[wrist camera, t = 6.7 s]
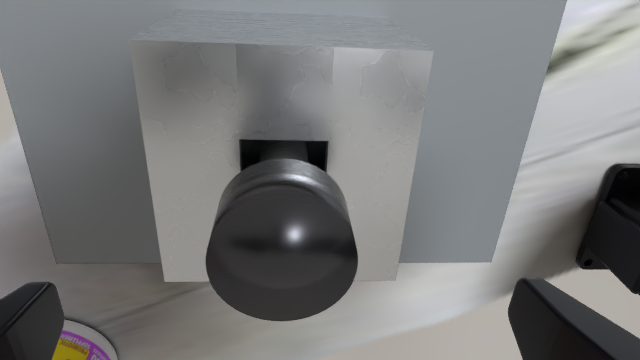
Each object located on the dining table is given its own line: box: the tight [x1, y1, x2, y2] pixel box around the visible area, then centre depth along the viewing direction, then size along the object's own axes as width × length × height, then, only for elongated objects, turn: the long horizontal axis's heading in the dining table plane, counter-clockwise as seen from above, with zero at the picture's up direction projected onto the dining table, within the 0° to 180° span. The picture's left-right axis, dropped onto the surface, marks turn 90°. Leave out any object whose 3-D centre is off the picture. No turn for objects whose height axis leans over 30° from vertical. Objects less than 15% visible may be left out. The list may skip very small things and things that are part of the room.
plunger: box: [206, 139, 358, 321], centre depth 14 cm, size 6×6×9 cm
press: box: [129, 9, 434, 282], centre depth 16 cm, size 8×8×6 cm
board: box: [0, 0, 567, 264], centre depth 20 cm, size 22×16×2 cm
